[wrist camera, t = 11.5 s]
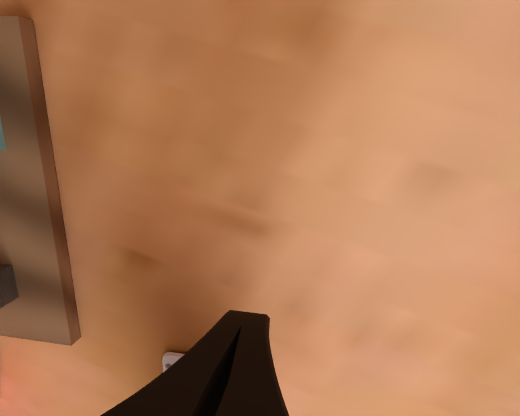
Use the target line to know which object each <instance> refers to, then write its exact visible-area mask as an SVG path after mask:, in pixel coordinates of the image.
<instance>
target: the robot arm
mask: <svg viewBox="0 0 520 416" xmlns="http://www.w3.org/2000/svg"><path fill="white" fill-rule="evenodd" d="M269 323H270V318H269V317H268V316H267V315H266V314H258V313H249V312H241V311H233V310H229V311H228V312H227V313H226V314H225V315H224V316H223V317H222V318H221V319H220V320H219V321H218V322H217V323H216V324H215V325H214V326H213V328H212V329H211V330H210V331H209V332H208V333H207V334H206V335H205V336H204V337H203V338H201V339H200V340H199V341H198V342H197V343H196V344H195V345H194V346H193V347H192V348H191V349H190V350H189V351H188V352H187V353H185V354H181V353H174V352H166V353H165V354H164V356H163V358H162V364H163V373H162V374H161V375H159V376H158V377H157V378H155V379H154V380H153V381H151V382H150V383H149V384H147V385H146V386H145V387H143V388H142V389H141V390H139V391H138V392H136V393H135V394H134V395H132V396H131V397H129V398H128V399H126V400H124V401H123V402H121V403H120V404H118V405H116V406H115V407H113V408H112V409H110V410H108V411H107V412H105V413H104V414H102V415H100V416H289V414H288V411H287V409H286V406H285V403H284V400H283V397H282V394H281V390H280V387H279V383H278V380H277V376H276V372H275V368H274V364H273V359H272V354H271V349H270V342H269ZM168 363H169V364H171V365H169V364H168Z"/></svg>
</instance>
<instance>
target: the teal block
mask: <svg viewBox="0 0 520 416" xmlns="http://www.w3.org/2000/svg"><path fill="white" fill-rule="evenodd" d="M2 150H6V145H5V140H4V135H3V130H2V125H1V119H0V151H2Z"/></svg>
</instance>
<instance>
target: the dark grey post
mask: <svg viewBox="0 0 520 416" xmlns="http://www.w3.org/2000/svg"><path fill="white" fill-rule="evenodd" d="M18 297H19V294H18V289H17V284H16V279H15V275H14V270H13V265H8V264H0V308H2V307H4V306H5V305H7V304H9V303H10V302H12V301H14V300H15V299H17V298H18Z"/></svg>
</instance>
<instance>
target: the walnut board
mask: <svg viewBox="0 0 520 416" xmlns="http://www.w3.org/2000/svg"><path fill="white" fill-rule="evenodd" d="M0 119H1V125H2V130H3V135H4V140H5V145H6V150H2V151H0V264H8V265H13V270H14V275H15V279H16V284H17V289H18V294H19V297H18V298H17V299H15V300H14V301H12V302H10V303H9V304H7V305H5V306H4V307H2V308H0V335H2V336H9V337H16V338H22V339H29V340H36V341H43V342H50V343H57V344H64V345H71V346H72V345H73V344H74V343H75V342H76V341H77V340H78V339H79V338H80V337H81V335H80V329H79V322H78V315H77V309H76V302H75V296H74V289H73V282H72V276H71V269H70V263H69V256H68V249H67V243H66V236H65V229H64V223H63V216H62V210H61V203H60V196H59V190H58V183H57V177H56V170H55V163H54V157H53V150H52V143H51V137H50V130H49V124H48V117H47V110H46V104H45V97H44V90H43V84H42V77H41V71H40V64H39V57H38V51H37V44H36V38H35V31H34V24H33V21H31V20H28V19H26V18H23V17H20V16H0Z"/></svg>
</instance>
